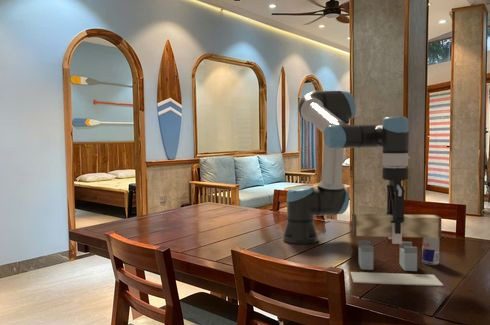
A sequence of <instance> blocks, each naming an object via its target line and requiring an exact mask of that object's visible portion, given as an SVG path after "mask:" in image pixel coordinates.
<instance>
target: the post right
mask: <svg viewBox="0 0 490 325" xmlns="http://www.w3.org/2000/svg"><path fill="white" fill-rule="evenodd" d="M399 266H400V267H401V268H402V269H403V271H404V272H418V247H417V246H413V241H402V244H399Z"/></svg>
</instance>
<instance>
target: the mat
mask: <svg viewBox="0 0 490 325" xmlns="http://www.w3.org/2000/svg"><path fill="white" fill-rule="evenodd" d="M350 277H351V278H352V279H351V280H352V282H353V283H355V284H375V285H376V284H379V285H400V286H401V285H405V286H427V287H428V286H429V287H430V286H431V287H432V286H433V287H444V284H443V283H442V282H441V281H440V280H439V279H438V278H437V276H436V275H435V274H419V273H393V272H392V273H388V272H369V271H368V272H364V271H359V272H358V271H350Z"/></svg>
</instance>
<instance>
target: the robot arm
mask: <svg viewBox="0 0 490 325" xmlns="http://www.w3.org/2000/svg"><path fill="white" fill-rule="evenodd" d="M297 106H298V108H297V109H298V112H299V115H300V117H301V118H302V119H304V120H305V121H306V122H310V123H311V124H313V126H314V127H315V128H317V130H319V131H320V132H321V133H322V134H323V150H322V151H323V152H322V162H321V163H322V168H321V180H320V181H319V182H318V183H317V188H316V189H315V188H314V186H312V185H302V186H301V185H300V186H296V187H293V188H292V187H291V188H289V189H288V190H287V192H286V225H285V228H284V232H283V235H282V240H283V241H284V242H286V243H288V244H294V245H310V244H315V243H317V242H318V241H319V234H318V231H317V228H316V226H315V221H314V220H315V216H318V217H319V216H337V215H343V214H345V212H346V211H347V210H348V208H349V203H350V196H349V195H350V194H349V191H348V189H347V188H346V187H345V184H344V183H343V182H342V179H343V178H342V177H343V164H344V152H345V151H344V149H354V148H355V149H356V148H358V149H359V148H361V149H362V148H367V149H368V148H371V149H372V148H374V149H375V148H382V154H381V156H382V157H381V158H382V160H381V162H382V166H383V167H382V179H383V180H384V181H389V182H388V184H386V193H387V194H386V196H387V197H386V200H387V201H386V214H393V221H391V223H392V237H388V240H391V243H392V244H393V245H400V244H402V242H403V237H402V222H404V215H405V193H406V192H405V189H404V186H403V185H402V181H408V180H409V167H408V166H409V160H410V159H411V156H410V155H409V148H410V147H409V146H410V145H409V144H410V143H409V141H410V138H409V137H410V127H409V118H407V117H406V116H386V117H384V118H383V119H382V124H350V120H352V119H354V118H355V115H356V112H357V110H356V108H357V107H356V101H355V98H354V95H353V94H352V93H351V92H349V91H347V90H346V91H343V90H314V91H310V92H308V93H306V94H305V95H303V96H302V97H301V98H300V100H299V103H298V105H297Z"/></svg>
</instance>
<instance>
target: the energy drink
mask: <svg viewBox="0 0 490 325" xmlns="http://www.w3.org/2000/svg"><path fill="white" fill-rule="evenodd" d="M421 250H422V254H421V256H422V257H421V258H422V259H421V261H422V264H424V265H428V266H437V265H439V263H440V238H430V237H422V248H421Z"/></svg>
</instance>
